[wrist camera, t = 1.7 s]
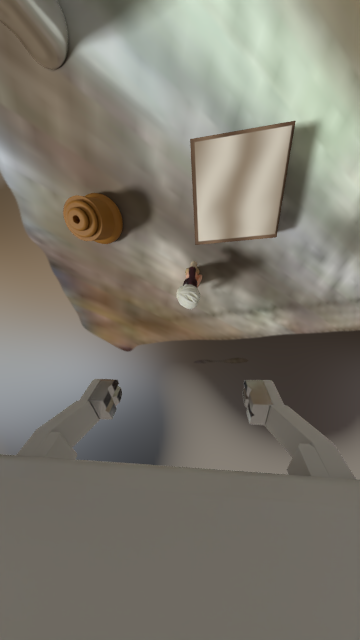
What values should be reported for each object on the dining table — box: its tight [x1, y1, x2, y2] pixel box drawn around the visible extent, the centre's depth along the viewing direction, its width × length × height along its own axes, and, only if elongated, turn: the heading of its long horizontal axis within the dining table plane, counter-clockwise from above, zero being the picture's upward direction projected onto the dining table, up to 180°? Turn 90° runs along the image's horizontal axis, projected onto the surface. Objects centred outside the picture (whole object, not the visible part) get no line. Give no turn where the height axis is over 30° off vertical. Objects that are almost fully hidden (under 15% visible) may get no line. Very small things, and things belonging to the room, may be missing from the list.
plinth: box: [190, 121, 295, 245], centre depth 25 cm, size 12×12×5 cm
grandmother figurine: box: [177, 261, 202, 309], centre depth 28 cm, size 8×4×13 cm, turn 1°
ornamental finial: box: [63, 193, 123, 244], centre depth 27 cm, size 8×8×8 cm
